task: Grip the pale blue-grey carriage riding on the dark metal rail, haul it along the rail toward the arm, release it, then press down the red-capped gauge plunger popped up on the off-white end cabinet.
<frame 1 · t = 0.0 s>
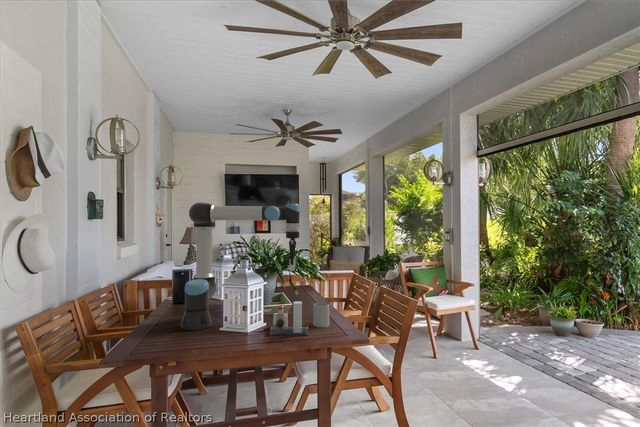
hand: (292, 269, 214), 28 cm above the table, fingers open, 13 cm apart
gauge cabinet: (280, 328, 195), on the table
gauge plunger: (280, 312, 195), point 8 cm above the table, slide at 0.0 cm
rail: (289, 333, 186), on the table
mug: (321, 324, 203), on the table
carriage: (297, 316, 186), point 8 cm above the table, slide at 0.0 cm
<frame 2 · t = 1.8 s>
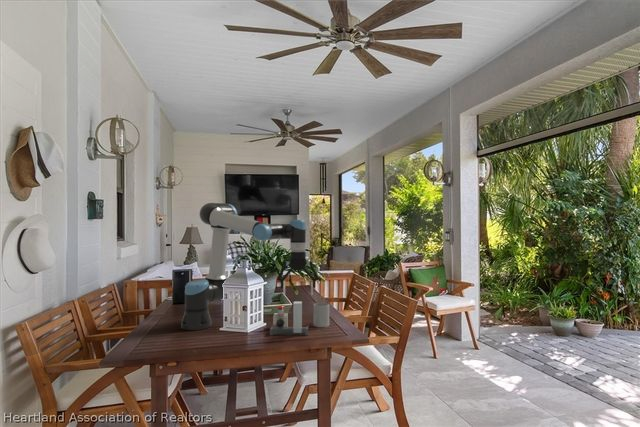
hand: (298, 294, 186), 19 cm above the table, fingers open, 13 cm apart
nothing on the table moved.
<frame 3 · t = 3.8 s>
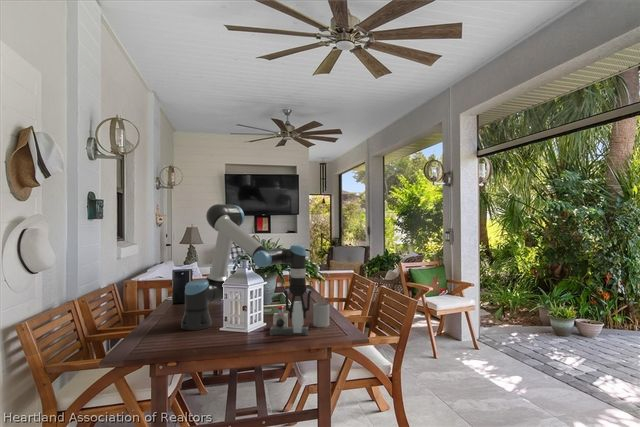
hand: (297, 324, 186), 4 cm above the table, fingers closed on carriage, 4 cm apart
carriage: (297, 316, 186), point 8 cm above the table, slide at 0.0 cm, touching gripper
everything else where it was.
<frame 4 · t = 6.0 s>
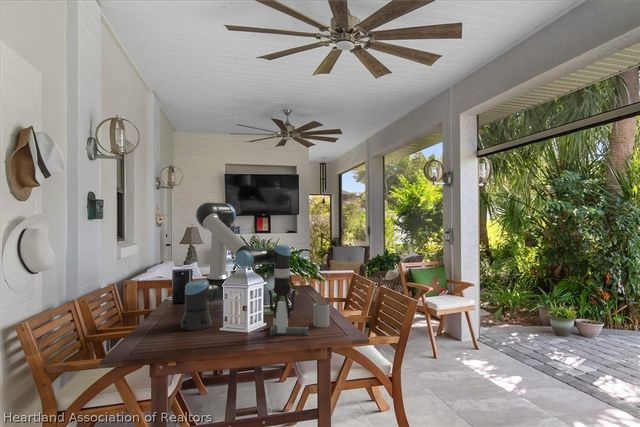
hand: (281, 324, 186), 4 cm above the table, fingers closed on carriage, 4 cm apart
carriage: (281, 317, 186), point 8 cm above the table, slide at 7.7 cm, touching gripper
everything else where it was.
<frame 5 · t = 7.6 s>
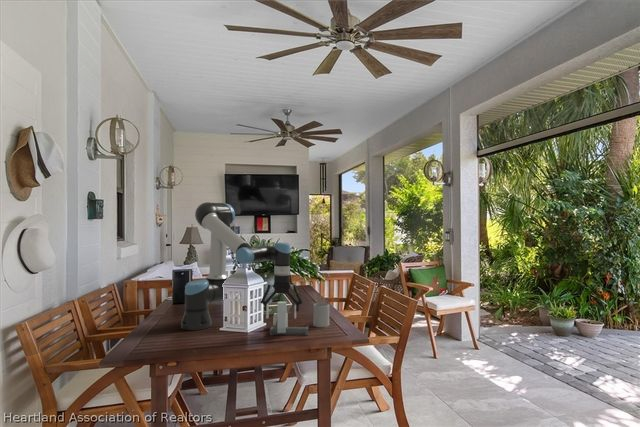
hand: (281, 318, 186), 8 cm above the table, fingers open, 13 cm apart
carriage: (281, 317, 186), point 8 cm above the table, slide at 7.7 cm
everything else where it was.
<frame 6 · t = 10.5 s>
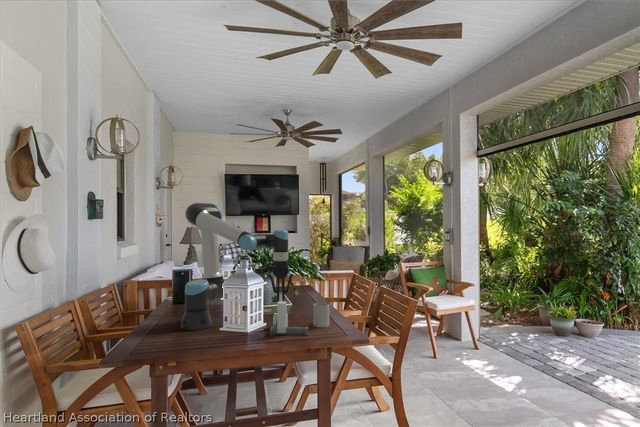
hand: (280, 306, 195), 11 cm above the table, fingers closed
gauge plunger: (280, 313, 195), point 8 cm above the table, slide at 0.3 cm, touching gripper
everything else where it was.
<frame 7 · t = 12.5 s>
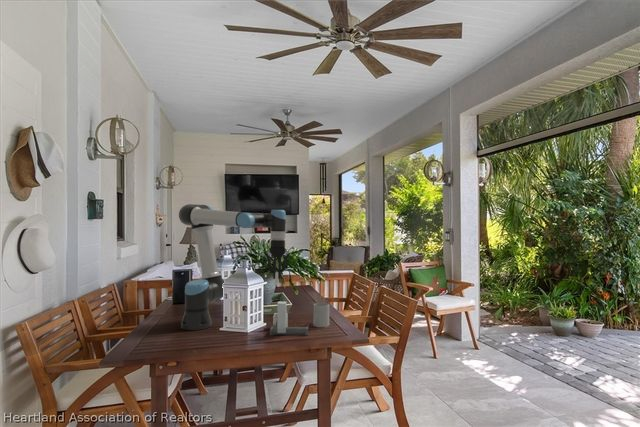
hand: (276, 285, 198), 22 cm above the table, fingers closed
gauge plunger: (280, 317, 195), point 5 cm above the table, slide at 2.5 cm
everything else where it was.
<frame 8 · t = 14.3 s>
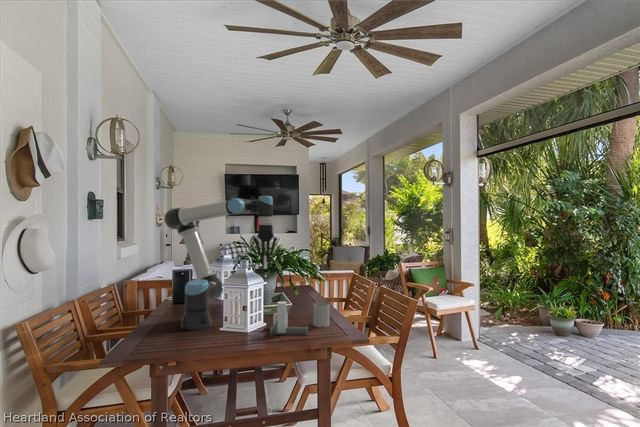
hand: (265, 268, 205), 29 cm above the table, fingers closed
nothing on the table moved.
at the end: carriage slide at 7.7 cm; gauge plunger slide at 2.5 cm; the gripper is holding nothing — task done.
